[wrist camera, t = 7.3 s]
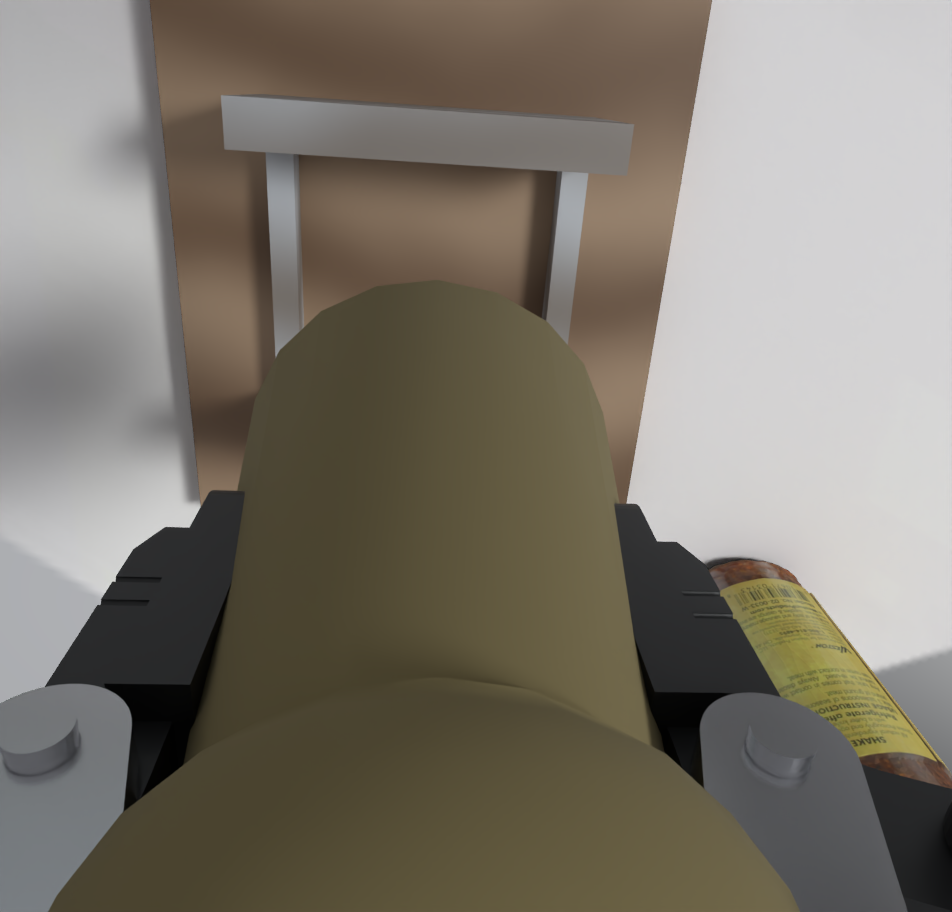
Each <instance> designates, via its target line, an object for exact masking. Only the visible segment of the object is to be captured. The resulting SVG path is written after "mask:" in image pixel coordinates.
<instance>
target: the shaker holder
mask: <svg viewBox="0 0 952 912" xmlns="http://www.w3.org/2000/svg"><path fill="white" fill-rule="evenodd" d="M711 3H712V0H150V9H151V19H152V28H153V38H154V48H155V58H156V68H157V78H158V88H159V98H160V108H161V117H162V127H163V137H164V147H165V157H166V167H167V177H168V187H169V196H170V206H171V216H172V226H173V236H174V246H175V256H176V266H177V276H178V285H179V295H180V305H181V315H182V325H183V335H184V345H185V355H186V364H187V374H188V384H189V394H190V404H191V414H192V424H193V434H194V444H195V453H196V463H197V473H198V483H199V493H200V503H201V506H202V504H203V502H204V501H205V499H206V497H207V495H208V494H209V492H210V491H211V490H230V491H237V489H238V483H239V478H240V473H241V468H242V463H243V458H244V453H245V448H246V443H247V438H248V433H249V427H250V422H251V417H252V412H253V407H254V402H255V398H256V396H257V394H258V392H259V390H260V388H261V386H262V384H263V382H264V380H265V378H266V376H267V374H268V372H269V370H270V368H271V366H272V364H273V362H274V360H275V358H276V356H277V354H278V352H279V350H280V349H281V348H283V347H284V346H285V345H286V344H287V343H288V342H289V341H290V340H291V339H292V338H293V337H294V336H295V335H296V334H297V333H298V332H300V331H301V330H302V329H303V328H304V327H305V326H306V325H307V324H308V323H309V322H310V321H311V320H312V319H313V318H314V317H315V316H316V315H318V314H319V313H320V312H321V311H322V310H325V309H327V308H329V307H331V306H333V305H336V304H338V303H340V302H342V301H344V300H347V299H349V298H351V297H353V296H356V295H358V294H360V293H362V292H364V291H367V290H369V289H371V288H373V287H376V286H383V285H392V284H402V283H411V282H421V281H430V280H441V281H446V282H450V283H455V284H460V285H464V286H469V287H474V288H478V289H483V290H488V291H493V292H497V293H499V294H501V295H502V296H504V297H506V298H507V299H509V300H511V301H513V302H514V303H516V304H518V305H519V306H521V307H523V308H525V309H526V310H528V311H530V312H531V313H533V314H535V315H537V316H538V317H540V318H542V319H544V320H545V321H547V322H548V323H549V324H550V325H551V326H552V327H553V329H554V330H555V331H556V332H557V333H558V334H559V336H560V337H561V338H562V339H563V340H564V341H565V342H566V344H567V345H568V346H569V347H570V348H571V349H572V351H573V352H574V353H575V354H576V355H577V356H578V358H579V359H580V360H581V361H582V362H583V363H584V365H585V368H586V370H587V373H588V375H589V378H590V380H591V383H592V386H593V388H594V391H595V393H596V396H597V399H598V401H599V404H600V406H601V409H602V411H603V415H604V421H605V426H606V432H607V437H608V443H609V448H610V454H611V460H612V465H613V471H614V476H615V482H616V487H617V493H618V498H619V503H620V504H626V502H627V496H628V490H629V484H630V478H631V472H632V467H633V461H634V455H635V449H636V443H637V437H638V431H639V426H640V420H641V414H642V408H643V402H644V396H645V390H646V385H647V379H648V373H649V367H650V361H651V355H652V349H653V343H654V338H655V332H656V326H657V320H658V314H659V308H660V302H661V297H662V291H663V285H664V279H665V273H666V267H667V261H668V256H669V250H670V244H671V238H672V232H673V226H674V220H675V215H676V209H677V203H678V197H679V191H680V185H681V179H682V173H683V168H684V162H685V156H686V150H687V144H688V138H689V132H690V127H691V121H692V115H693V109H694V103H695V97H696V91H697V86H698V80H699V74H700V68H701V62H702V56H703V50H704V45H705V39H706V33H707V27H708V21H709V15H710V9H711Z"/></svg>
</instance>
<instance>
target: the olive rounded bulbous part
mask: <svg viewBox="0 0 952 912" xmlns="http://www.w3.org/2000/svg"><path fill="white" fill-rule="evenodd" d="M237 491H245V497H244V503H243V510H242V516H241V523H240V530H239V536H238V543H237V549H236V556H235V562H234V569H233V576H232V582H231V586H230V590H229V593H228V597H227V601H226V605H225V609H224V612H223V616H222V620H221V624H220V628H219V631H218V635H217V639H216V643H215V647H214V650H213V654H212V658H211V662H210V666H209V669H208V673H207V677H206V681H205V684H204V688H203V692H202V696H201V700H200V703H199V707H198V711H197V715H196V719H195V722H194V724H193V726H192V727H191V729H190V733H189V738H188V743H187V748H186V753H185V758H184V763H183V766H182V767H180V768H179V769H178V770H176V771H175V772H174V773H173V774H171V775H170V776H169V777H168V778H166V779H165V780H164V781H162V782H161V783H160V784H159V785H157V786H156V787H155V788H153V789H152V790H151V791H150V792H148V793H147V794H146V795H144V796H143V797H142V798H141V799H139V800H138V801H137V802H135V803H134V804H133V805H132V806H130V807H129V808H128V809H127V810H125V811H124V812H123V813H121V815H120V816H119V817H118V818H117V820H116V821H115V822H114V824H113V825H112V826H111V827H110V829H109V830H108V831H107V832H106V834H105V835H104V836H103V837H102V839H101V840H100V841H99V842H98V844H97V845H96V846H95V848H94V849H93V850H92V851H91V853H90V854H89V855H88V856H87V858H86V859H85V860H84V861H83V863H82V864H81V865H80V867H79V868H78V869H77V870H76V872H75V873H74V874H73V875H72V877H71V878H70V879H69V880H68V882H67V883H66V884H65V885H64V887H63V888H62V889H61V891H60V892H59V893H58V894H57V896H56V898H55V900H54V902H53V903H52V905H51V907H50V909H49V911H48V912H800V910H799V908H798V906H797V904H796V901H795V899H794V897H793V895H792V893H791V891H790V889H789V888H788V886H787V885H786V884H785V882H784V881H783V880H782V879H781V877H780V876H779V875H778V873H777V872H776V871H775V870H774V868H773V867H772V866H771V864H770V863H769V862H768V860H767V859H766V858H765V857H764V855H763V854H762V853H761V851H760V850H759V849H758V847H757V846H756V845H755V844H754V842H753V841H752V840H751V838H750V837H749V836H748V835H747V833H746V832H745V831H744V829H743V828H742V827H741V825H740V824H739V823H738V822H737V820H736V819H735V818H734V816H733V815H732V814H731V813H730V812H729V811H728V810H727V809H726V808H725V807H724V806H722V805H721V804H720V803H719V802H718V801H717V800H716V799H715V798H714V797H713V796H712V795H710V794H709V793H708V792H707V791H706V790H705V789H704V788H703V787H702V786H701V785H700V784H698V783H697V782H696V781H695V780H694V779H693V778H692V777H691V776H690V775H689V774H688V773H686V772H685V771H684V770H683V769H682V768H681V767H680V766H679V765H678V764H677V763H676V762H674V761H673V760H672V759H671V758H670V757H669V756H668V755H667V754H665V752H664V746H663V741H662V735H661V733H660V731H659V728H658V726H657V724H656V722H655V719H654V717H653V715H652V713H651V710H650V705H649V701H648V696H647V692H646V687H645V683H644V678H643V674H642V670H641V665H640V661H639V656H638V652H637V647H636V643H635V638H634V633H633V627H632V620H631V613H630V607H629V600H628V594H627V587H626V580H625V574H624V567H623V560H622V554H621V547H620V541H619V534H618V527H617V521H616V514H615V507H614V504H615V503H619V498H618V493H617V487H616V482H615V476H614V471H613V465H612V460H611V454H610V448H609V443H608V437H607V432H606V426H605V421H604V415H603V411H602V409H601V406H600V404H599V401H598V399H597V396H596V393H595V391H594V388H593V386H592V383H591V380H590V378H589V375H588V373H587V370H586V368H585V365H584V363H583V362H582V361H581V360H580V359H579V358H578V356H577V355H576V354H575V353H574V352H573V351H572V349H571V348H570V347H569V346H568V345H567V344H566V342H565V341H564V340H563V339H562V338H561V337H560V336H559V334H558V333H557V332H556V331H555V330H554V329H553V327H552V326H551V325H550V324H549V323H548V322H547V321H545V320H544V319H542V318H540V317H538V316H537V315H535V314H533V313H531V312H530V311H528V310H526V309H525V308H523V307H521V306H519V305H518V304H516V303H514V302H513V301H511V300H509V299H507V298H506V297H504V296H502V295H501V294H499V293H497V292H493V291H488V290H483V289H478V288H474V287H469V286H464V285H460V284H455V283H450V282H446V281H441V280H430V281H421V282H411V283H402V284H392V285H383V286H376V287H373V288H371V289H369V290H367V291H364V292H362V293H360V294H358V295H356V296H353V297H351V298H349V299H347V300H344V301H342V302H340V303H338V304H336V305H333V306H331V307H329V308H327V309H325V310H322V311H321V312H320V313H319V314H318V315H316V316H315V317H314V318H313V319H312V320H311V321H310V322H309V323H308V324H307V325H306V326H305V327H304V328H303V329H302V330H301V331H300V332H298V333H297V334H296V335H295V336H294V337H293V338H292V339H291V340H290V341H289V342H288V343H287V344H286V345H285V346H284V347H283V348H281V349H280V350H279V352H278V354H277V356H276V358H275V360H274V362H273V364H272V366H271V368H270V370H269V372H268V374H267V376H266V378H265V380H264V382H263V384H262V386H261V388H260V390H259V392H258V394H257V396H256V398H255V402H254V407H253V412H252V417H251V422H250V427H249V433H248V438H247V443H246V448H245V453H244V458H243V463H242V468H241V473H240V478H239V483H238V489H237Z"/></svg>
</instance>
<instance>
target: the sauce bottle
mask: <svg viewBox="0 0 952 912" xmlns="http://www.w3.org/2000/svg"><path fill="white" fill-rule="evenodd" d="M709 572H710V574H711V576H712V577H713V579H714V581H715V583H716V584H717V586H718V588H719V590H720V596H723V597H724V598H725V600H726V602H727V604H728V605H729V607H730V609H731V611H732V612H733V619H737V621H738V623H739V624H740V626H741V628H742V630H743V631H744V633H745V635H746V637H747V638H748V640H749V642H750V644H751V645H752V647H753V649H754V651H755V652H756V654H757V656H758V658H759V659H760V661H761V663H762V665H763V666H764V668H765V670H766V671H767V673H768V675H769V677H770V678H771V680H772V682H773V684H774V685H775V687H776V689H777V691H778V692H779V694H780V696H781V697H782V698H785V699H788V700H790V701H793V702H796V703H798V704H800V705H802V706H804V707H807V708H809V709H810V710H812V711H814V712H815V713H817V714H819V715H820V716H822V717H823V718H825V719H826V720H827V721H829V722H830V723H831V724H832V725H834V726H835V727H836V728H837V729H838V730H839V731H840V732H841V733H842V734H843V735H844V736H845V737H846V739H847V740H848V741H849V742H850V743H851V745H852V746H853V748H854V750H855V751H856V753H857V755H858V757H859V760H860V762H861V764H863V765H866V766H868V767H871V768H875V769H878V770H881V771H885V772H888V773H892V774H896V775H900V776H904V777H908V778H912V779H915V780H919V781H923V782H927V783H931V784H935V785H939V786H943V787H946V788H950V789H952V775H951V773H950V771H949V770H948V768H947V767H946V765H945V764H944V763H943V762H942V760H941V759H940V758H939V756H938V755H937V754H936V753H935V751H934V750H933V749H932V747H931V746H930V745H929V744H928V743H927V741H926V740H925V739H924V737H923V736H922V735H921V733H920V732H919V731H918V729H917V728H916V727H915V725H914V724H913V723H912V722H911V720H910V719H909V718H908V717H907V715H906V714H905V713H904V711H903V710H902V709H901V707H900V706H899V705H898V704H897V702H896V701H895V700H894V698H893V697H892V696H891V695H890V693H889V692H888V691H887V689H886V688H885V687H884V686H883V684H882V683H881V682H880V680H879V679H878V678H877V677H876V675H875V674H874V673H873V671H872V670H871V669H870V668H869V666H868V665H867V664H866V662H865V661H864V660H863V659H862V657H861V656H860V655H859V653H858V652H857V651H856V650H855V648H854V647H853V646H852V644H851V643H850V642H849V641H848V639H847V638H846V637H845V636H844V634H843V633H842V632H841V630H840V629H839V628H838V627H837V625H836V624H835V623H834V622H833V620H832V619H831V618H830V617H829V615H828V614H827V613H826V611H825V610H824V609H823V607H822V606H821V605H820V603H819V602H818V601H817V599H816V598H815V597H814V595H813V594H812V593H808V592H807V591H806V590H805V589H804V588H803V587H802V586H801V584H800V583H799V582H798V581H797V579H796V577H795V576H794V575H793V574H792V573H790V572H789V571H788V570H786V569H784V568H782V567H780V566H778V565H775V564H773V563H769V562H765V561H752V560H745V559H744V560H739V561H730V562H728V563H725V564H719V565H716V566H714V567H712V568H711V569H709Z"/></svg>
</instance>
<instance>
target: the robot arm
mask: <svg viewBox="0 0 952 912" xmlns="http://www.w3.org/2000/svg"><path fill="white" fill-rule="evenodd" d="M244 497H245V491H230V490H211V491H210V492H209V494H208V495H207V497H206V499H205V501H204V502H203V504H202V506H201V508H200V510H199V511H198V513H197V515H196V517H195V519H194V521H193V522H192V524H191V526H190V528H179V527H165V528H163V529H162V530H160V531H159V532H158V533H156V534H155V535H153V536H152V537H150V538H149V539H148V540H146V541H145V542H143V543H142V544H140V545H139V546H138V547H136V548H135V549H133V551H132V552H131V554H130V555H129V557H128V559H127V560H126V562H125V563H124V565H123V566H122V568H121V569H120V571H119V572H118V574H117V576H116V582H112V583H111V585H110V586H109V588H108V590H107V591H106V593H105V594H104V596H103V597H102V599H101V605H97V607H96V608H95V610H94V612H93V613H92V614H91V616H90V618H89V619H88V621H87V622H86V624H85V625H84V627H83V628H82V630H81V632H80V633H79V635H78V636H77V638H76V639H75V641H74V642H73V644H72V645H71V647H70V649H69V650H68V652H67V653H66V655H65V657H64V658H63V659H62V661H61V662H60V664H59V666H58V667H57V669H56V670H55V672H54V673H53V675H52V677H51V678H50V679H49V681H48V683H47V684H46V686H45V687H43V688H39V689H35V690H32V691H29V692H25V693H22V694H20V695H18V696H15V697H13V698H10V699H8V700H6V701H4V702H2V703H0V912H48V911H49V909H50V907H51V905H52V903H53V902H54V900H55V898H56V896H57V894H58V893H59V892H60V891H61V889H62V888H63V887H64V885H65V884H66V883H67V882H68V880H69V879H70V878H71V877H72V875H73V874H74V873H75V872H76V870H77V869H78V868H79V867H80V865H81V864H82V863H83V861H84V860H85V859H86V858H87V856H88V855H89V854H90V853H91V851H92V850H93V849H94V848H95V846H96V845H97V844H98V842H99V841H100V840H101V839H102V837H103V836H104V835H105V834H106V832H107V831H108V830H109V829H110V827H111V826H112V825H113V824H114V822H115V821H116V820H117V818H118V817H119V816H120V815H121V813H123V812H124V811H125V810H127V809H128V808H129V807H130V806H132V805H133V804H134V803H135V802H137V801H138V800H139V799H141V798H142V797H143V796H144V795H146V794H147V793H148V792H150V791H151V790H152V789H153V788H155V787H156V786H157V785H159V784H160V783H161V782H162V781H164V780H165V779H166V778H168V777H169V776H170V775H171V774H173V773H174V772H175V771H176V770H178V769H179V768H180V767H182V766H183V763H184V758H185V753H186V748H187V743H188V738H189V733H190V729H191V727H192V726H193V724H194V722H195V719H196V715H197V711H198V707H199V703H200V700H201V696H202V692H203V688H204V684H205V681H206V677H207V673H208V669H209V666H210V662H211V658H212V654H213V650H214V647H215V643H216V639H217V635H218V631H219V628H220V624H221V620H222V616H223V612H224V609H225V605H226V601H227V597H228V593H229V590H230V586H231V582H232V576H233V569H234V562H235V556H236V549H237V543H238V536H239V530H240V523H241V516H242V510H243V503H244ZM614 507H615V514H616V521H617V527H618V534H619V541H620V547H621V554H622V560H623V567H624V574H625V580H626V587H627V594H628V600H629V607H630V613H631V620H632V627H633V633H634V638H635V643H636V647H637V652H638V656H639V661H640V665H641V670H642V674H643V678H644V683H645V687H646V692H647V696H648V701H649V705H650V710H651V713H652V715H653V717H654V719H655V722H656V724H657V726H658V728H659V731H660V733H661V735H662V741H663V746H664V752H665V754H667V755H668V756H669V757H670V758H671V759H672V760H673V761H674V762H676V763H677V764H678V765H679V766H680V767H681V768H682V769H683V770H684V771H685V772H686V773H688V774H689V775H690V776H691V777H692V778H693V779H694V780H695V781H696V782H697V783H698V784H700V785H701V786H702V787H703V788H704V789H705V790H706V791H707V792H708V793H709V794H710V795H712V796H713V797H714V798H715V799H716V800H717V801H718V802H719V803H720V804H721V805H722V806H724V807H725V808H726V809H727V810H728V811H729V812H730V813H731V814H732V815H733V816H734V818H735V819H736V820H737V822H738V823H739V824H740V825H741V827H742V828H743V829H744V831H745V832H746V833H747V835H748V836H749V837H750V838H751V840H752V841H753V842H754V844H755V845H756V846H757V847H758V849H759V850H760V851H761V853H762V854H763V855H764V857H765V858H766V859H767V860H768V862H769V863H770V864H771V866H772V867H773V868H774V870H775V871H776V872H777V873H778V875H779V876H780V877H781V879H782V880H783V881H784V882H785V884H786V885H787V886H788V888H789V889H790V891H791V893H792V895H793V897H794V899H795V901H796V904H797V906H798V908H799V910H800V912H952V789H950V788H946V787H943V786H939V785H935V784H931V783H927V782H923V781H919V780H915V779H912V778H908V777H904V776H900V775H896V774H892V773H888V772H885V771H881V770H878V769H875V768H871V767H868V766H866V765H863V764H861V762H860V760H859V757H858V755H857V753H856V751H855V750H854V748H853V746H852V745H851V743H850V742H849V741H848V740H847V739H846V737H845V736H844V735H843V734H842V733H841V732H840V731H839V730H838V729H837V728H836V727H835V726H834V725H832V724H831V723H830V722H829V721H827V720H826V719H825V718H823V717H822V716H820V715H819V714H817V713H815V712H814V711H812V710H810V709H809V708H807V707H804V706H802V705H800V704H798V703H796V702H793V701H790V700H788V699H785V698H782V697H781V696H780V694H779V692H778V691H777V689H776V687H775V685H774V684H773V682H772V680H771V678H770V677H769V675H768V673H767V671H766V670H765V668H764V666H763V665H762V663H761V661H760V659H759V658H758V656H757V654H756V652H755V651H754V649H753V647H752V645H751V644H750V642H749V640H748V638H747V637H746V635H745V633H744V631H743V630H742V628H741V626H740V624H739V623H738V621H737V619H733V612H732V611H731V609H730V607H729V605H728V604H727V602H726V600H725V598H724V597H723V596H720V590H719V588H718V586H717V584H716V583H715V581H714V579H713V577H712V576H711V574H710V572H709V570H708V569H707V567H706V565H705V564H704V563H702V562H701V561H700V560H699V559H697V558H696V557H695V556H694V555H692V554H691V553H690V552H689V551H687V550H686V549H685V548H684V547H682V546H681V545H680V544H679V543H677V542H657V541H656V539H655V537H654V535H653V533H652V531H651V529H650V527H649V525H648V523H647V521H646V519H645V517H644V515H643V513H642V511H641V509H640V507H639V506H638V505H637V504H620V503H615V504H614Z"/></svg>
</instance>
